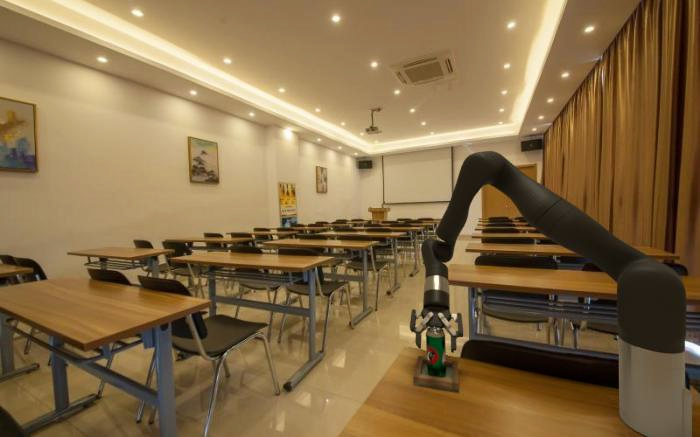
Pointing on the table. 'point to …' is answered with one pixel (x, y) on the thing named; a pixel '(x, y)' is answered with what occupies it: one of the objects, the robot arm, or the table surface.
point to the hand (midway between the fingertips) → (435, 349)
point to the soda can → (436, 351)
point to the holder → (442, 383)
